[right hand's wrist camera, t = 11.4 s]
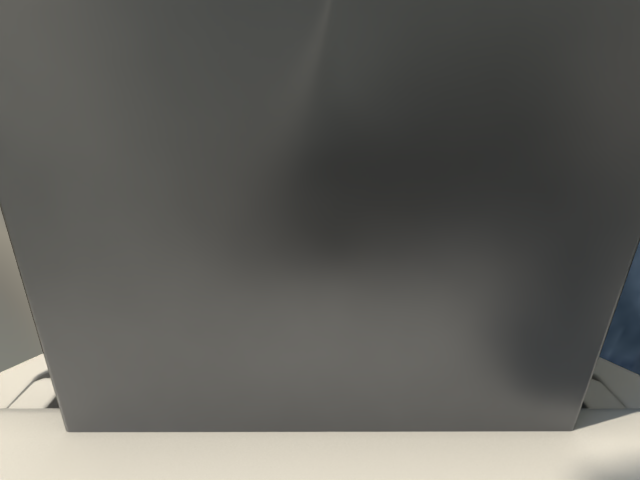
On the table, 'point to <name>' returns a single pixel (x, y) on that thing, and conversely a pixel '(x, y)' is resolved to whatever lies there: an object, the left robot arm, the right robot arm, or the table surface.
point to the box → (321, 208)
